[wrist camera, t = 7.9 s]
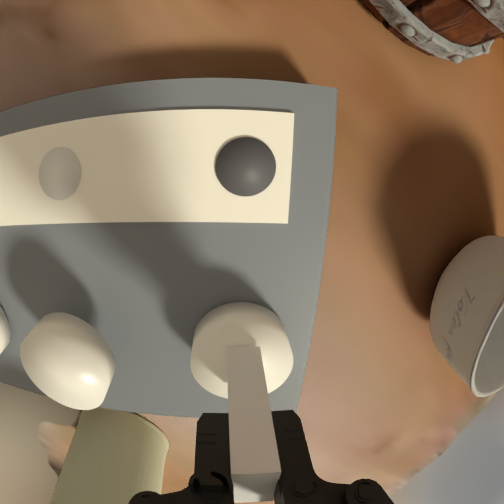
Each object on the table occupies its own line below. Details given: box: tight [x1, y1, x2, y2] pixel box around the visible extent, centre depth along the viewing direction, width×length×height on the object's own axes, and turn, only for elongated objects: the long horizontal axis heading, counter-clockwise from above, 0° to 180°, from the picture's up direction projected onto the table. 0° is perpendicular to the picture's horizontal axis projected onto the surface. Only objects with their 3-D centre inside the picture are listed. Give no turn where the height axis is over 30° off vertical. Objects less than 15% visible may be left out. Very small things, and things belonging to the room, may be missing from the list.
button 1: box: [190, 302, 293, 399], centre depth 15 cm, size 5×5×2 cm
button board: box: [0, 78, 337, 418], centre depth 15 cm, size 20×26×3 cm
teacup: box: [430, 235, 504, 397], centre depth 17 cm, size 14×11×8 cm
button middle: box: [20, 312, 116, 410], centre depth 12 cm, size 5×5×2 cm
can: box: [50, 407, 169, 504], centre depth 17 cm, size 9×9×12 cm
